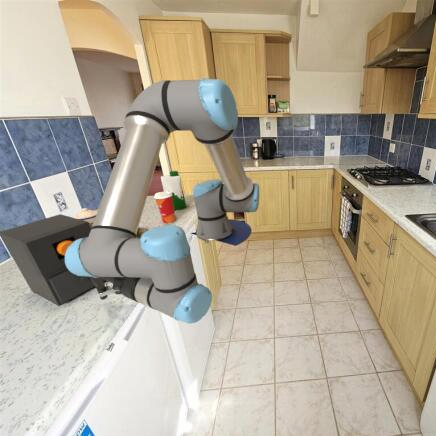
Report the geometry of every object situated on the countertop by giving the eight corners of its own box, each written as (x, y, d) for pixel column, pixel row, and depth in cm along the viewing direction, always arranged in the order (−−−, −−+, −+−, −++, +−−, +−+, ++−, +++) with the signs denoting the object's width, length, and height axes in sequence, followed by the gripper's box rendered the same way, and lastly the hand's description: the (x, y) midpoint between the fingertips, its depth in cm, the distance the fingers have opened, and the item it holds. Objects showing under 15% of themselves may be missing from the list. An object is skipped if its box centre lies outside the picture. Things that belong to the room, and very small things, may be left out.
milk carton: (188, 207, 134) (181, 172, 126) (171, 212, 129) (162, 175, 121) (182, 204, 140) (175, 169, 132) (166, 208, 135) (157, 172, 127)
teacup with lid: (77, 239, 102) (66, 214, 98) (84, 230, 110) (75, 206, 105) (110, 234, 106) (102, 209, 102) (115, 226, 114) (107, 202, 109)
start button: (81, 251, 68) (76, 239, 66) (64, 259, 64) (58, 246, 63) (76, 250, 69) (71, 237, 67) (59, 257, 65) (53, 244, 64)
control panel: (100, 251, 73) (88, 221, 70) (43, 277, 62) (25, 243, 58) (72, 242, 80) (60, 214, 76) (16, 263, 68) (-2, 232, 64)
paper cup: (161, 219, 120) (154, 192, 115) (178, 216, 123) (172, 190, 117) (160, 225, 114) (152, 196, 108) (177, 222, 116) (171, 194, 111)
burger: (110, 240, 101) (104, 223, 98) (137, 228, 111) (133, 213, 108) (127, 246, 96) (121, 229, 93) (154, 234, 105) (150, 218, 102)
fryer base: (110, 277, 77) (100, 251, 73) (59, 306, 66) (43, 277, 62) (83, 266, 83) (72, 242, 80) (31, 291, 72) (16, 263, 68)
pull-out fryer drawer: (112, 278, 75) (104, 256, 72) (65, 304, 65) (52, 281, 62) (84, 266, 82) (75, 246, 79) (36, 289, 71) (24, 267, 68)
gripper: (125, 319, 50) (64, 289, 60) (176, 282, 61) (118, 262, 70) (114, 291, 47) (52, 264, 57) (170, 257, 58) (110, 239, 67)
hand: (88, 263), depth 63 cm, fingers closed
